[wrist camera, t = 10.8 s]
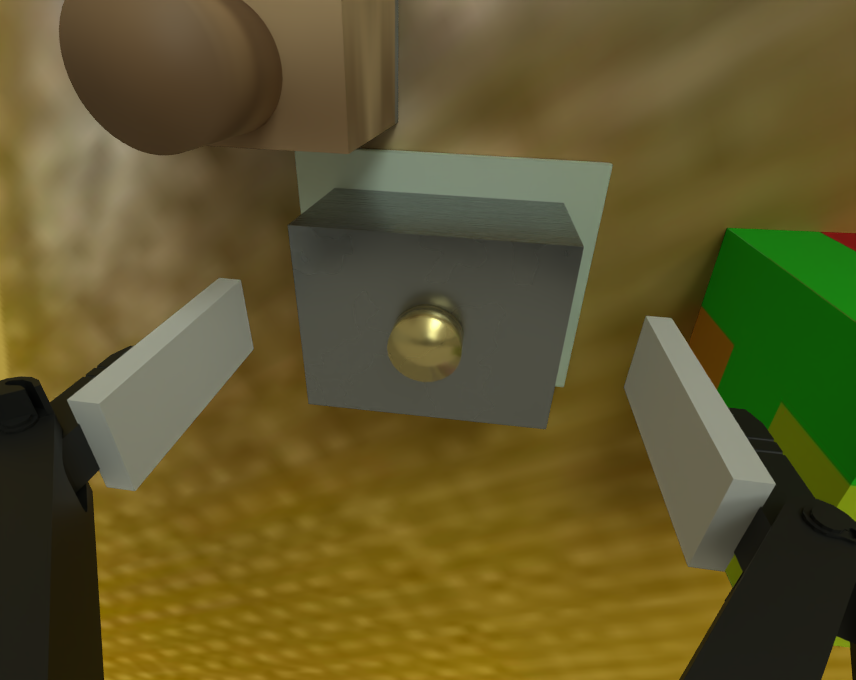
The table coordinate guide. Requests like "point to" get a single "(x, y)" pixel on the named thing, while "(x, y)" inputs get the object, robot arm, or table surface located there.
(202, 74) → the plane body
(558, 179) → the mat
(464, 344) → the grey box with knob
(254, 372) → the table surface
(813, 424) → the puzzle toy
